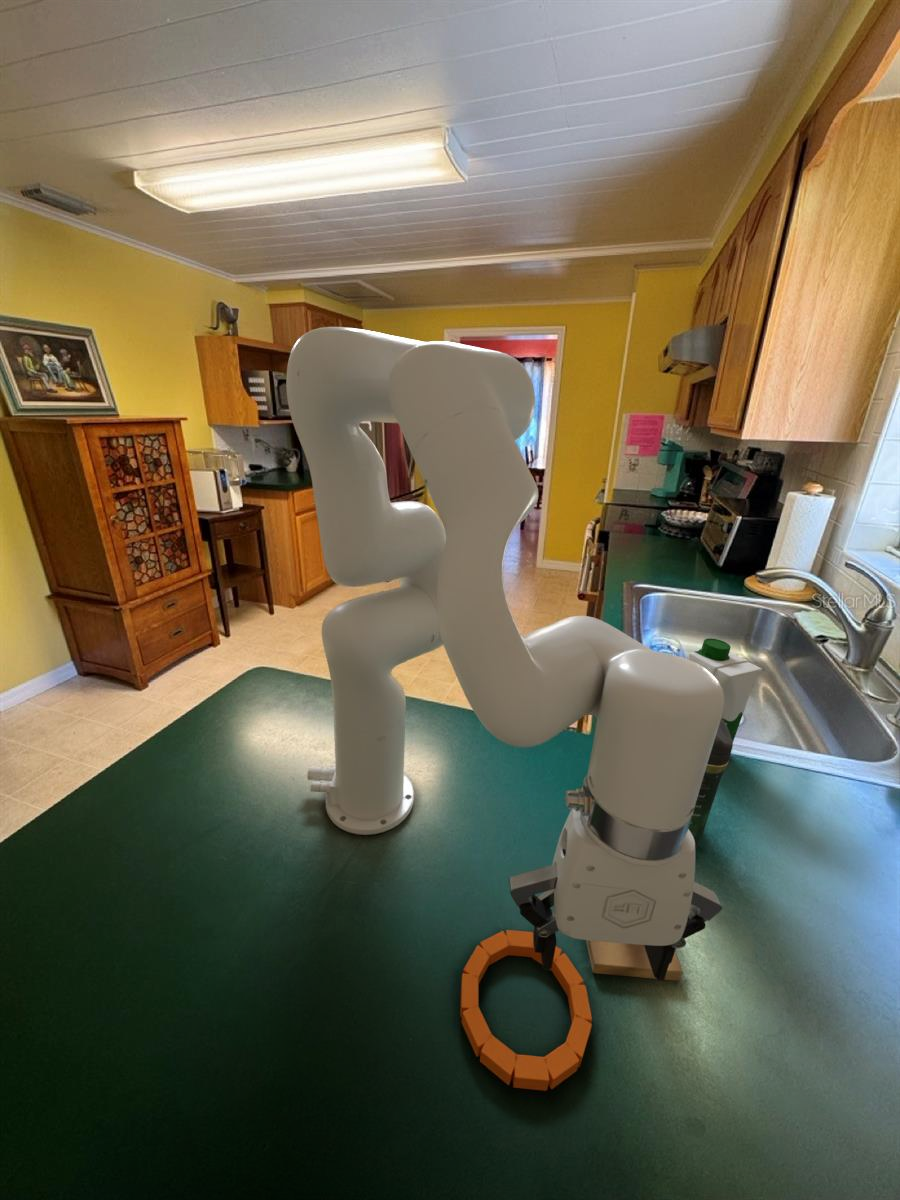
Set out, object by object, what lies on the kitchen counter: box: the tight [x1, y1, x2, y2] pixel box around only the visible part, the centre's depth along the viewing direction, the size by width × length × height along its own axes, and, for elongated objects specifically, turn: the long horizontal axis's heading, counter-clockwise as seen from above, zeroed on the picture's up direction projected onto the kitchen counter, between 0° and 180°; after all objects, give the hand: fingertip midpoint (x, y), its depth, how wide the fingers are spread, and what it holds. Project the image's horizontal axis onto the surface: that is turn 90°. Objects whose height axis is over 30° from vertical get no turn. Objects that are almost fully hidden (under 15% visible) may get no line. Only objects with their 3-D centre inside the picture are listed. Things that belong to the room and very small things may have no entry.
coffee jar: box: [688, 718, 734, 850], centre depth 64 cm, size 10×8×19 cm
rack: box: [585, 940, 684, 982], centre depth 51 cm, size 9×9×12 cm
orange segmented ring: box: [459, 929, 593, 1092], centre depth 45 cm, size 12×12×2 cm
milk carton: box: [688, 637, 763, 744], centre depth 80 cm, size 9×9×20 cm
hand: (598, 957), depth 42 cm, fingers open, 9 cm apart
